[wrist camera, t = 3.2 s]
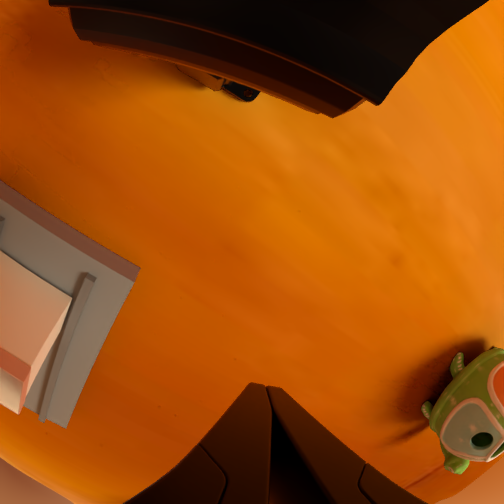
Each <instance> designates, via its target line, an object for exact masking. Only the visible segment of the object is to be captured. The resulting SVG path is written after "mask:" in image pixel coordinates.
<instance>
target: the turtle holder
mask: <svg viewBox="0 0 504 504" xmlns="http://www.w3.org/2000/svg"><path fill="white" fill-rule="evenodd" d="M450 372H451V375H452V377H453V378H454V379H453V380H452V381H451V382H450V384H449V385H448V386H447V387H446V388H445V390H444V391H443V393H442V394H441V396H440V397H439V399H438V400H437V402H436V404H435V405H434V407H433V405H432V404H431V403H430V402H429V401H426V402H425V403H424V404H423V405H422V407H421V411H422V413H423V414H424V416H425V417H426V418H427V419H429V425H430V428H431V429H432V430H433V431H434V432H436V433H437V435H438V437H439V438H440V445H441V449H442V452H443V454H444V456H445V462H444V466H445V467H444V468H445V469H446V470H448V471H451V472H453V473H456V474H462V473H463V471H464V470H465V469H466V468H467V467H468V465H469V460H471V461H485V462H489V461H491V460H492V459H494V458H496V457H497V456H499V455H500V454H501V453H502V452H504V350H503V349H501V348H497V347H494V348H493V349H491V350H488V351H485V352H483V353H482V354H480V355H479V356H477V357H476V358H475V359H474V360H473V361H472V362H470V363H469V364H468V365H467V366H466V367H465V366H464V355H463V353H462V352H459V353H457V354H456V356H455V357H454V359H453V360H452V363H451V365H450Z"/></svg>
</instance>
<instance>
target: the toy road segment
mask: <svg viewBox="0 0 504 504" xmlns="http://www.w3.org/2000/svg"><path fill="white" fill-rule="evenodd" d="M0 251H2V252H3V253H4V254H6V255H7V256H9V257H10V258H11V259H13V260H14V261H16V262H17V263H19V264H20V265H21V266H23V267H24V268H26V269H27V270H29V271H30V272H32V273H33V274H35V275H36V276H38V277H39V278H41V279H43V280H44V281H46V282H47V283H49V284H50V285H52V286H54V287H55V288H57V289H58V290H60V291H62V292H63V293H65V294H67V295H68V296H70V297H72V300H71V303H70V306H69V308H68V311H67V314H66V316H65V319H64V322H63V325H62V328H61V331H60V333H59V334H58V336H57V338H56V340H55V341H54V343H53V345H52V347H51V349H50V350H49V352H48V354H47V356H46V358H45V360H44V362H43V364H42V365H41V367H40V369H39V371H38V373H37V375H36V377H35V379H34V381H33V383H32V385H31V387H30V389H29V391H28V394H27V396H26V398H25V402H24V405H23V406H25V407H26V408H28V409H30V410H32V411H33V412H35V413H37V414H39V420H40V421H41V422H43V423H44V422H45V419H48V420H50V421H52V422H54V423H56V424H58V425H60V426H62V427H64V428H66V427H67V425H68V422H69V420H70V417H71V415H72V412H73V410H74V407H75V405H76V403H77V400H78V398H79V395H80V393H81V391H82V388H83V386H84V384H85V382H86V379H87V377H88V375H89V373H90V370H91V368H92V366H93V364H94V362H95V360H96V357H97V355H98V353H99V351H100V349H101V347H102V345H103V343H104V341H105V339H106V337H107V334H108V332H109V330H110V328H111V326H112V324H113V322H114V320H115V318H116V316H117V314H118V313H119V311H120V309H121V307H122V305H123V303H124V301H125V299H126V297H127V295H128V293H129V291H130V290H131V288H132V286H133V284H134V282H135V280H136V277H137V275H138V272H139V270H140V268H139V267H138V266H136V265H134V264H132V263H131V262H129V261H127V260H125V259H124V258H122V257H120V256H119V255H117V254H115V253H113V252H112V251H110V250H108V249H107V248H105V247H103V246H101V245H100V244H98V243H96V242H95V241H93V240H91V239H90V238H88V237H87V236H85V235H83V234H82V233H80V232H78V231H77V230H75V229H73V228H72V227H70V226H69V225H67V224H65V223H64V222H62V221H61V220H59V219H58V218H56V217H54V216H53V215H51V214H50V213H48V212H47V211H45V210H44V209H42V208H41V207H39V206H37V205H36V204H34V203H33V202H31V201H30V200H28V199H27V198H25V197H24V196H22V195H21V194H20V193H18V192H17V191H15V190H14V189H12V188H11V187H9V186H8V185H6V184H5V183H4V182H2V181H1V180H0Z"/></svg>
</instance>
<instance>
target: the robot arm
mask: <svg viewBox="0 0 504 504" xmlns="http://www.w3.org/2000/svg"><path fill="white" fill-rule="evenodd" d="M487 1H489V0H49V5H50V6H54V7H68V9H69V15H70V20H71V23H72V26H73V29H74V30H75V32H76V34H77V35H78V37H79V39H80V40H84V41H91V42H92V43H93V44H94V45H98V46H101V47H104V48H109V49H115V50H120V51H125V52H130V53H135V54H139V55H144V56H148V57H152V58H156V59H160V60H164V61H168V62H172V63H176V66H177V68H178V70H180V71H182V72H183V73H185V74H187V75H188V76H190V77H192V78H194V79H195V80H197V81H199V82H200V83H202V84H204V85H205V86H207V87H208V88H210V89H212V90H213V91H218V90H220V89H221V88H223V89H225V90H226V91H228V92H229V93H231V94H232V95H234V96H235V97H237V98H238V99H240V100H242V101H244V102H251V101H253V100H254V99H255V98H256V97H257V96H258V94H259V93H260V92H263V93H266V94H269V95H271V96H274V97H276V98H278V99H281V100H283V101H286V102H288V103H290V104H293V105H295V106H297V107H300V108H302V109H304V110H306V111H309V112H312V113H316V114H320V113H322V114H324V115H326V116H328V117H330V118H334V117H337V116H340V115H342V114H344V113H347V112H349V111H351V110H353V109H355V108H356V107H358V106H359V105H360V104H362V103H363V102H364V101H366V100H367V101H369V102H371V103H372V104H374V105H376V106H378V105H380V104H381V103H382V102H383V101H384V99H385V98H386V96H387V95H388V94H389V92H390V91H391V89H392V88H393V87H394V85H395V84H396V83H397V82H398V81H399V80H400V78H401V77H402V76H403V75H404V74H405V73H406V72H407V70H408V69H409V68H410V66H411V65H412V64H413V62H414V61H415V59H416V58H417V57H418V56H419V55H420V53H421V52H422V51H423V50H424V49H425V48H426V47H427V46H428V45H429V44H430V43H431V42H432V41H434V40H435V39H436V38H437V37H439V36H440V35H441V34H442V33H444V32H445V31H446V30H447V29H449V28H450V27H451V26H453V25H454V24H456V23H457V22H458V21H460V20H461V19H463V18H464V17H466V16H467V15H469V14H470V13H472V12H473V11H474V10H476V9H477V8H479V7H480V6H482V5H483V4H485V3H486V2H487ZM245 90H250V91H251V93H252V95H251V97H245V96H244V91H245ZM365 463H366V462H365V461H364V460H363V459H362V458H361V457H359V456H358V455H357V454H356V453H354V452H353V451H352V450H351V449H350V448H348V447H347V446H346V445H345V444H344V443H343V442H341V441H340V440H339V439H338V438H337V437H335V436H334V435H333V434H332V433H331V432H330V431H329V430H327V429H326V428H325V427H324V426H323V425H322V424H320V423H319V422H318V421H317V420H316V419H315V418H314V417H313V416H311V415H310V414H309V413H308V412H307V411H306V410H305V409H304V408H303V407H302V406H300V405H299V404H298V403H297V402H296V401H295V400H294V399H293V398H292V397H291V396H290V395H288V394H287V393H286V392H285V391H284V390H283V389H282V388H279V387H274V386H266V387H265V385H263V384H257V383H252V382H251V383H249V384H248V385H247V386H246V388H245V389H244V390H243V391H242V393H241V394H240V395H239V396H238V397H237V399H236V400H235V401H234V402H233V403H232V405H231V406H230V407H229V408H228V409H227V411H226V412H225V413H224V414H223V415H222V416H221V418H220V419H219V420H218V421H217V422H216V423H215V425H214V426H213V427H212V428H211V429H210V430H209V431H208V433H207V434H206V435H205V436H204V437H203V438H202V439H201V441H200V442H199V443H198V444H197V445H196V446H195V447H194V448H193V449H192V450H191V451H190V452H189V453H188V454H187V455H186V456H185V457H184V458H183V459H182V460H181V461H180V462H179V463H178V464H177V465H176V466H175V467H174V468H173V469H171V470H170V471H169V472H168V473H166V474H165V475H164V476H162V477H161V478H160V479H159V480H157V481H156V482H155V483H153V484H152V485H150V486H149V487H147V488H146V489H144V490H143V491H141V492H140V493H138V494H137V495H135V496H134V497H132V498H131V499H129V500H128V501H126V502H124V503H123V504H428V503H426V502H424V501H422V500H421V499H419V498H417V497H416V496H414V495H412V494H411V493H409V492H408V491H406V490H404V489H403V488H401V487H400V486H398V485H397V484H395V483H394V482H392V481H391V480H390V479H388V478H387V477H386V476H384V475H383V474H382V473H380V472H379V471H378V470H376V469H375V468H374V467H373V466H371V465H370V464H369V463H366V464H365Z"/></svg>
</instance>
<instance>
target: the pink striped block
mask: <svg viewBox="0 0 504 504" xmlns="http://www.w3.org/2000/svg"><path fill="white" fill-rule="evenodd" d="M71 300H72V297H70V296H68V295H67V294H65V293H63V292H62V291H60V290H58V289H57V288H55V287H54V286H52V285H50V284H49V283H47V282H46V281H44V280H43V279H41V278H39V277H38V276H36V275H35V274H33V273H32V272H30V271H29V270H27V269H26V268H24V267H23V266H21V265H20V264H19V263H17V262H16V261H14V260H13V259H11V258H10V257H9V256H7V255H6V254H4V253H3V252H2V251H0V404H2V405H3V406H5V407H7V408H8V409H10V410H11V411H13V412H15V413H16V414H18V415H19V414H20V411H21V409H22V407H23V405H24V402H25V398H26V396H27V394H28V391H29V389H30V387H31V385H32V383H33V381H34V379H35V377H36V375H37V373H38V371H39V369H40V367H41V365H42V364H43V362H44V360H45V358H46V356H47V354H48V352H49V350H50V349H51V347H52V345H53V343H54V341H55V340H56V338H57V336H58V334H59V333H60V331H61V328H62V325H63V322H64V319H65V316H66V314H67V311H68V308H69V306H70V303H71Z"/></svg>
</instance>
